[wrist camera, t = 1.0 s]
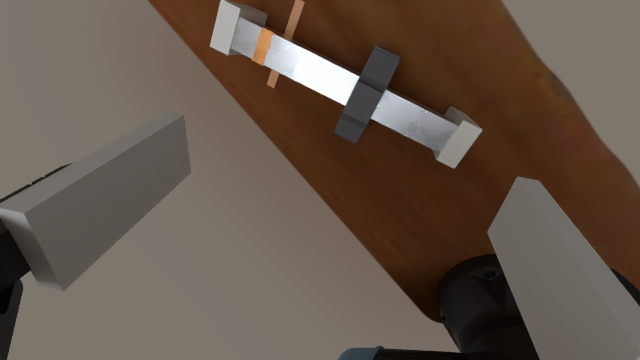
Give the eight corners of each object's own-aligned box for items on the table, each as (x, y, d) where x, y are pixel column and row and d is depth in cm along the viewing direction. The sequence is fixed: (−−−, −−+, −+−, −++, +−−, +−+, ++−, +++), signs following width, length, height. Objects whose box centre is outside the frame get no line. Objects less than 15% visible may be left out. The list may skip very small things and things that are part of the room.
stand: (481, 90, 34) (503, 102, 27) (430, 166, 38) (438, 191, 32) (260, -21, 34) (229, -35, 27) (234, 68, 38) (203, 73, 32)
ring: (399, 55, 33) (401, 59, 25) (360, 129, 37) (352, 153, 29) (378, 44, 33) (374, 45, 25) (342, 119, 37) (328, 141, 29)
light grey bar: (461, 122, 32) (468, 130, 29) (443, 148, 33) (448, 158, 30) (244, 13, 32) (229, 10, 29) (235, 44, 33) (220, 44, 30)
